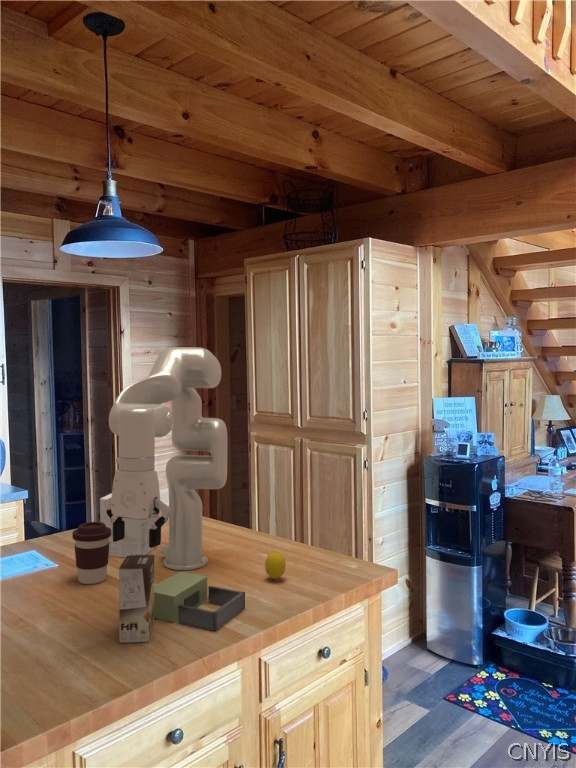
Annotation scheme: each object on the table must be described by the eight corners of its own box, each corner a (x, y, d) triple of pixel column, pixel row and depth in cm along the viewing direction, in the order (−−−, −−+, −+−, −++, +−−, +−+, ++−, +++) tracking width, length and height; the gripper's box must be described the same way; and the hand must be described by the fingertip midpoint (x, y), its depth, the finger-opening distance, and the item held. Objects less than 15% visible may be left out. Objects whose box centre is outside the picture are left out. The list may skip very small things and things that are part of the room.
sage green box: (145, 615, 145) (145, 590, 145) (180, 594, 158) (180, 571, 158) (175, 622, 142) (175, 596, 141) (208, 600, 154) (208, 576, 154)
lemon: (283, 584, 166) (283, 554, 165) (262, 582, 167) (263, 553, 166) (287, 577, 171) (287, 548, 171) (267, 575, 172) (267, 546, 172)
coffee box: (149, 642, 132) (149, 568, 131) (118, 643, 131) (118, 568, 131) (155, 623, 141) (154, 554, 140) (126, 624, 141) (125, 554, 140)
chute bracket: (178, 622, 142) (178, 605, 141) (210, 601, 154) (210, 585, 154) (215, 631, 137) (215, 613, 137) (245, 608, 150) (245, 592, 150)
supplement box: (158, 545, 197) (158, 491, 196) (140, 559, 184) (140, 500, 183) (119, 542, 200) (119, 488, 199) (99, 555, 187) (98, 498, 186)
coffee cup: (119, 576, 170) (119, 522, 169) (93, 589, 161) (93, 532, 160) (91, 571, 174) (90, 518, 173) (64, 582, 165) (64, 527, 164)
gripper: (93, 463, 134) (93, 542, 135) (159, 470, 127) (158, 553, 128) (116, 459, 141) (116, 533, 142) (180, 465, 134) (179, 544, 134)
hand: (136, 543), depth 135 cm, fingers open, 9 cm apart
